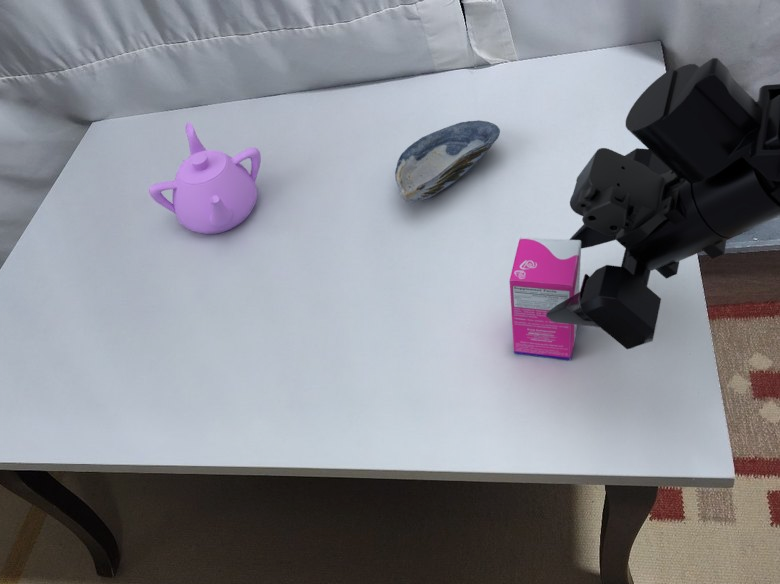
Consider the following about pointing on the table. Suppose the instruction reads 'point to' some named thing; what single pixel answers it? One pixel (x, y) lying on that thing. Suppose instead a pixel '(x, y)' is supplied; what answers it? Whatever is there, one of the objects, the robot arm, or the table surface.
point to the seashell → (442, 158)
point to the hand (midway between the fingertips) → (560, 280)
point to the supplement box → (543, 295)
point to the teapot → (211, 188)
